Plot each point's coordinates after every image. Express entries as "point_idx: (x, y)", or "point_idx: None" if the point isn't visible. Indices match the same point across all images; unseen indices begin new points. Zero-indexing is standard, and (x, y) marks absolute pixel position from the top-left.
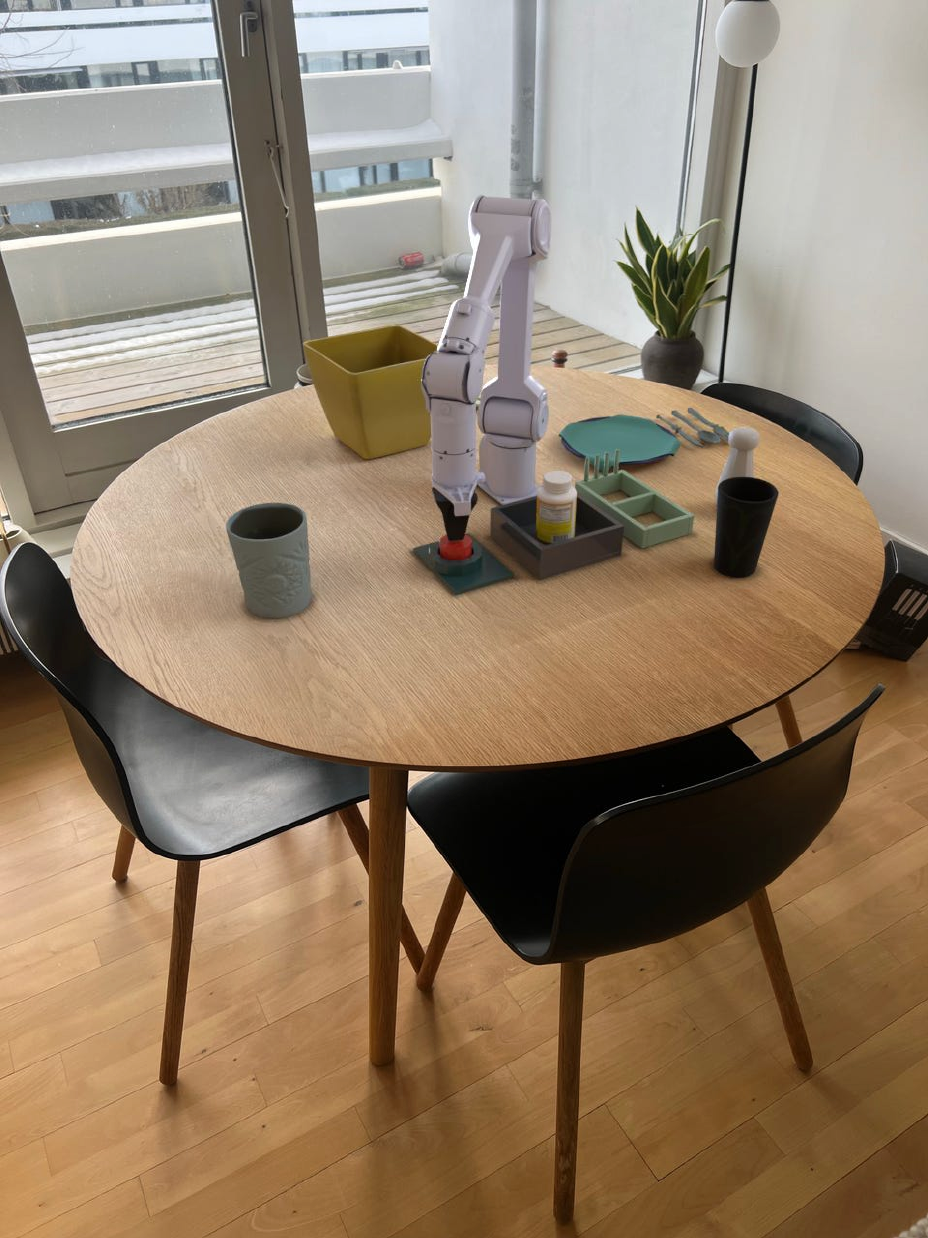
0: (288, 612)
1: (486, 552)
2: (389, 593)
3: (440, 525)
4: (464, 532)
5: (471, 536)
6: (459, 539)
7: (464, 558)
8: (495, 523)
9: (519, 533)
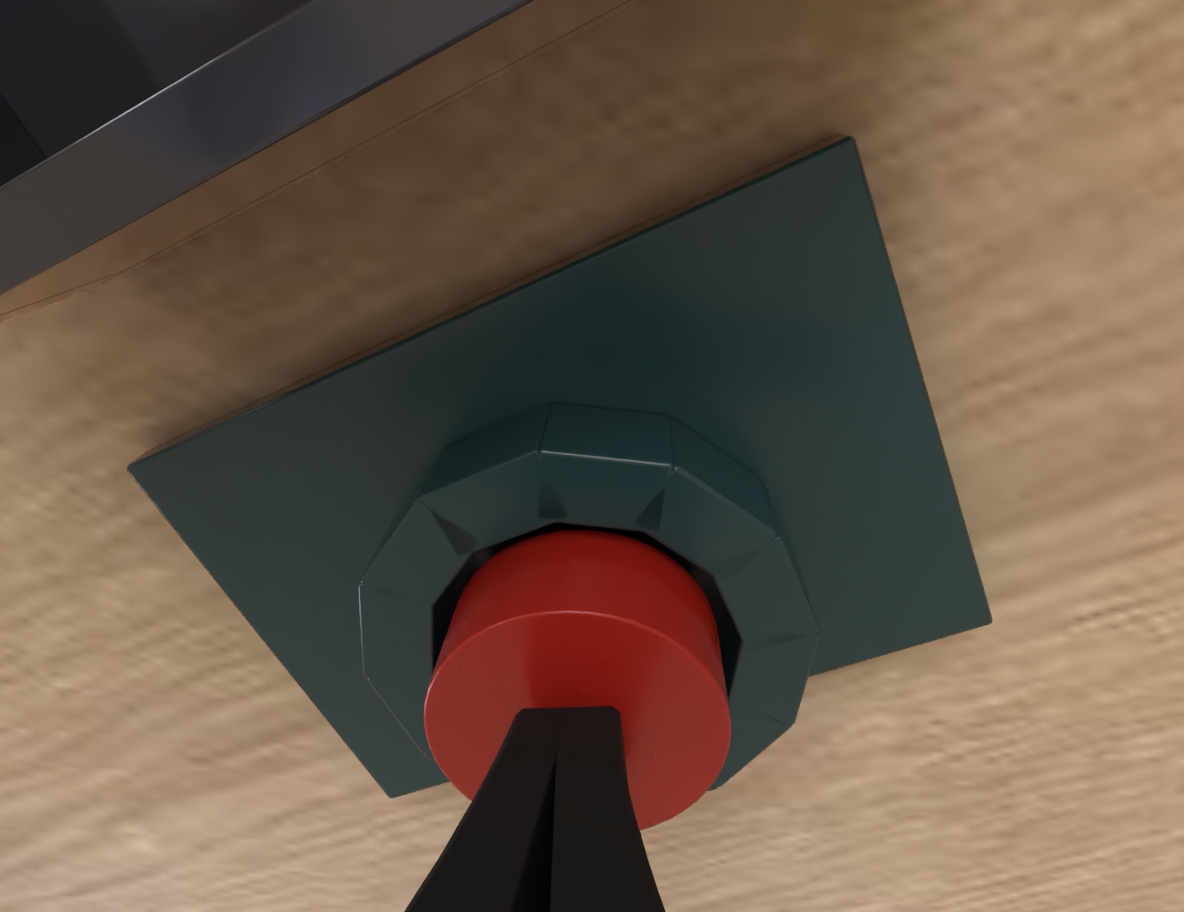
0: None
1: (443, 356)
2: (841, 889)
3: (22, 614)
4: (624, 771)
5: (182, 450)
6: (622, 742)
7: (706, 603)
8: (62, 286)
9: (512, 16)
